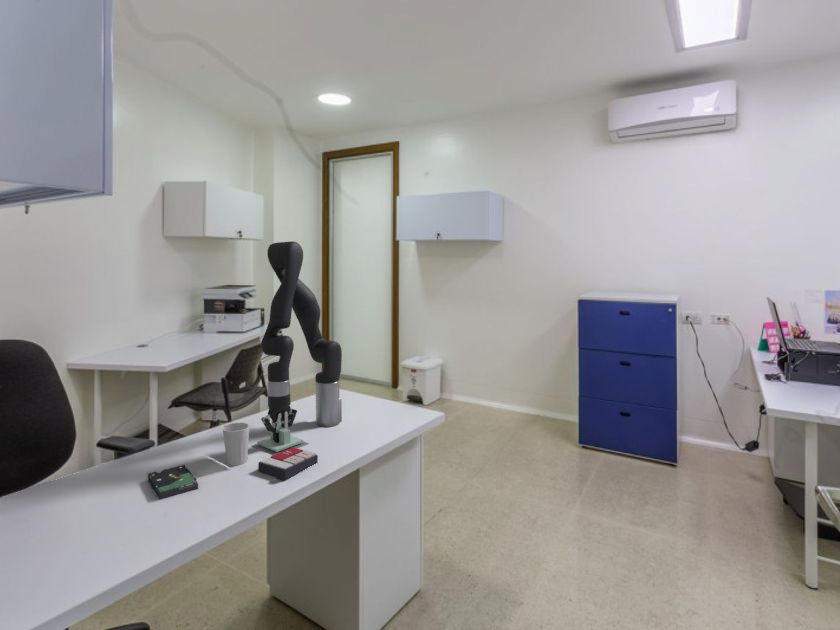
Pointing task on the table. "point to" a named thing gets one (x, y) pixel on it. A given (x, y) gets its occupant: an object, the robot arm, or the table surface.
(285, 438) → the cover
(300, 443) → the mat
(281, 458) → the red white black box
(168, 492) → the disk drive
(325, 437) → the table surface
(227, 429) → the cup
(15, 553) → the table surface
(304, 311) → the robot arm
